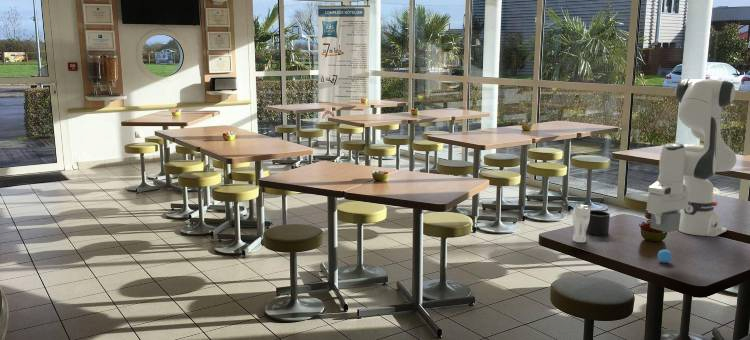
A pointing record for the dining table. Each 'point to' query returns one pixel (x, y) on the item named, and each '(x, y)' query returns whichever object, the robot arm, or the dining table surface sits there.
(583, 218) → the beer glass
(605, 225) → the mug
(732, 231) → the dining table surface
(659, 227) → the grey block
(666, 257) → the ball
